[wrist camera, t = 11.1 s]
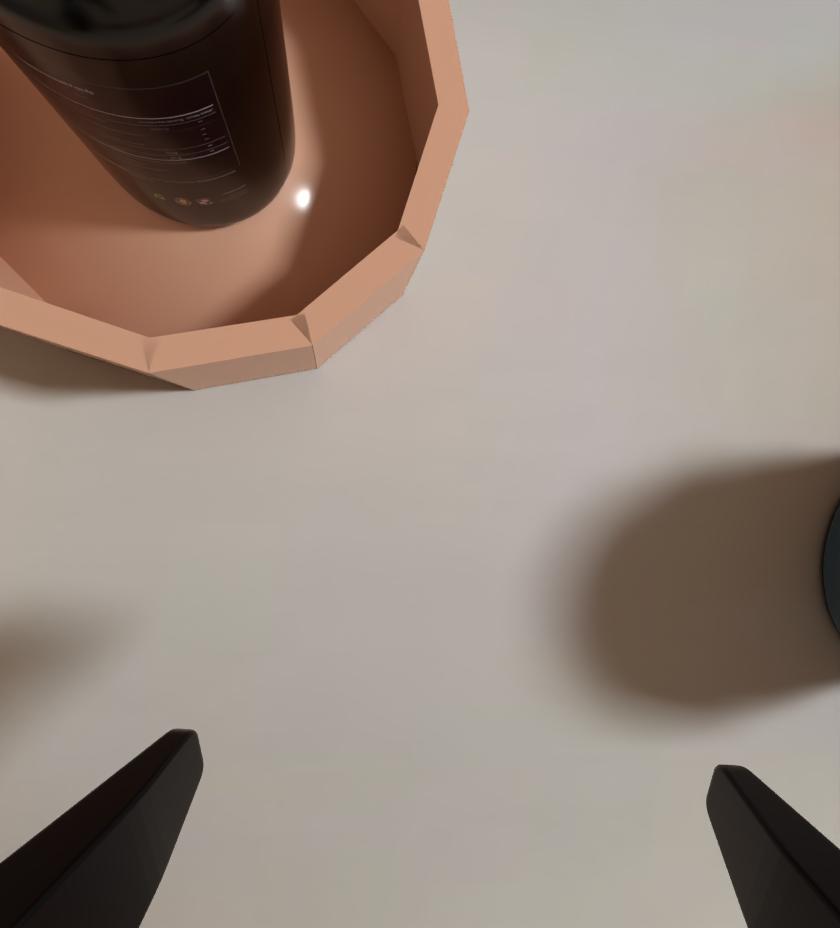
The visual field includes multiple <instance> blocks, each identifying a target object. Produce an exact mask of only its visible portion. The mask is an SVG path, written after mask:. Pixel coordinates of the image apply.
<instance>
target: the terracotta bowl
mask: <svg viewBox="0 0 840 928" xmlns="http://www.w3.org/2000/svg"><path fill="white" fill-rule="evenodd" d="M280 7H281V15H282V23H283V31H284V39H285V47H286V55H287V63H288V71H289V79H290V87H291V95H292V103H293V112H294V122H295V139H296V141H295V155H294V160H293V164H292V168H291V171H290V173H289V176H288V178H287V181H286V182H285V184H284V186H283V188H282V189H281V191H280V192H279V194H278V195H277V196H276V197H275V199H274V200H273V201H272V202H271V203H270V204H269V205H268V206H267V207H265V208H264V209H263V210H261V211H260V212H259V213H257V214H255V215H254V216H252V217H250V218H248V219H246V220H243V221H240V222H237V223H234V224H230V225H225V226H217V227H203V226H194V225H188V224H184V223H180V222H176V221H174V220H171V219H168V218H166V217H164V216H162V215H159V214H157V213H155V212H154V211H152V210H150V209H148V208H147V207H145V206H144V205H142V204H141V203H139V202H138V201H137V200H136V199H134V198H133V197H132V196H131V195H130V194H129V193H128V192H126V191H125V190H124V189H123V188H122V187H121V186H120V185H119V184H118V183H117V181H116V180H115V179H114V178H113V177H112V176H111V175H110V174H109V172H108V171H107V170H106V169H105V168H104V167H103V166H102V165H101V163H100V162H99V161H98V160H97V159H96V158H95V156H94V155H93V154H92V153H91V152H90V151H89V149H88V148H87V147H86V146H85V145H84V144H83V142H82V141H81V140H80V139H79V138H78V137H77V135H76V134H75V133H74V132H73V131H72V130H71V128H70V127H69V126H68V125H67V124H66V123H65V121H64V120H63V119H62V118H61V117H60V116H59V114H58V113H57V112H56V111H55V110H54V108H53V107H52V106H51V105H50V104H49V103H48V101H47V100H46V99H45V98H44V97H43V96H42V94H41V93H40V92H39V91H38V90H37V89H36V87H35V86H34V85H33V84H32V83H31V82H30V80H29V79H28V78H27V77H26V76H25V75H24V73H23V72H22V71H21V70H20V69H19V68H18V66H17V65H16V64H15V63H14V62H13V61H12V59H11V58H10V57H9V56H8V55H7V54H6V52H5V51H4V50H3V49H2V48H1V47H0V326H1V327H4V328H7V329H10V330H13V331H16V332H18V333H21V334H24V335H27V336H30V337H33V338H35V339H38V340H41V341H44V342H47V343H50V344H53V345H55V346H58V347H61V348H64V349H67V350H70V351H73V352H77V353H80V354H83V355H86V356H89V357H92V358H95V359H98V360H101V361H104V362H108V363H111V364H114V365H117V366H120V367H123V368H126V369H129V370H132V371H135V372H139V373H142V374H145V375H148V376H151V377H154V378H157V379H160V380H163V381H166V382H169V383H173V384H176V385H179V386H182V387H185V388H188V389H191V390H200V389H205V388H211V387H216V386H222V385H228V384H233V383H239V382H245V381H250V380H256V379H261V378H267V377H273V376H278V375H284V374H290V373H295V372H301V371H307V370H312V369H317V368H318V367H319V366H321V365H322V364H323V363H324V362H325V361H326V360H328V359H329V358H330V357H331V356H332V355H333V354H335V353H336V352H337V351H338V350H339V349H340V348H342V347H343V346H344V345H345V344H346V343H347V342H348V341H350V340H351V339H352V338H353V337H354V336H355V335H357V334H358V333H359V332H360V331H361V330H362V329H364V328H365V327H366V326H367V325H368V324H369V323H371V322H372V321H373V320H374V319H375V318H376V317H377V316H379V315H380V314H381V313H382V312H383V311H384V310H386V309H387V308H388V307H389V306H390V305H391V304H393V303H394V302H395V301H396V300H397V299H398V298H400V297H401V296H402V295H403V293H404V291H405V289H406V287H407V285H408V283H409V281H410V279H411V277H412V275H413V273H414V271H415V269H416V266H417V264H418V262H419V260H420V258H421V256H422V254H423V252H424V250H425V247H426V244H427V241H428V238H429V234H430V231H431V228H432V225H433V222H434V219H435V216H436V213H437V210H438V206H439V203H440V200H441V197H442V194H443V191H444V188H445V185H446V182H447V178H448V175H449V172H450V169H451V166H452V163H453V160H454V157H455V154H456V150H457V147H458V144H459V141H460V138H461V135H462V132H463V129H464V126H465V122H466V119H467V116H468V113H469V108H468V102H467V97H466V91H465V86H464V81H463V75H462V70H461V64H460V59H459V54H458V48H457V43H456V38H455V32H454V27H453V21H452V16H451V11H450V5H449V0H280Z"/></svg>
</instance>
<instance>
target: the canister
mask: <svg viewBox="0 0 840 928" xmlns="http://www.w3.org/2000/svg"><path fill="white" fill-rule="evenodd" d="M823 578H824V589H825V596H826V600H827V604H828V607H829V611H830V614H831V616H832V619H833V621H834V623H835V625H836V628H837V629H838V631H839V633H840V505H839V507H838V509H837V511H836V513H835V516H834V518H833V521H832V523H831V526H830V529H829V533H828V537H827V541H826V546H825V552H824V562H823Z"/></svg>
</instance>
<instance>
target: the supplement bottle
mask: <svg viewBox="0 0 840 928" xmlns="http://www.w3.org/2000/svg"><path fill="white" fill-rule="evenodd" d="M0 47H1V48H2V49H3V50H4V51H5V52H6V54H7V55H8V56H9V57H10V58H11V59H12V61H13V62H14V63H15V64H16V65H17V66H18V68H19V69H20V70H21V71H22V72H23V73H24V75H25V76H26V77H27V78H28V79H29V80H30V82H31V83H32V84H33V85H34V86H35V87H36V89H37V90H38V91H39V92H40V93H41V94H42V96H43V97H44V98H45V99H46V100H47V101H48V103H49V104H50V105H51V106H52V107H53V108H54V110H55V111H56V112H57V113H58V114H59V116H60V117H61V118H62V119H63V120H64V121H65V123H66V124H67V125H68V126H69V127H70V128H71V130H72V131H73V132H74V133H75V134H76V135H77V137H78V138H79V139H80V140H81V141H82V142H83V144H84V145H85V146H86V147H87V148H88V149H89V151H90V152H91V153H92V154H93V155H94V156H95V158H96V159H97V160H98V161H99V162H100V163H101V165H102V166H103V167H104V168H105V169H106V170H107V171H108V172H109V174H110V175H111V176H112V177H113V178H114V179H115V180H116V181H117V183H118V184H119V185H120V186H121V187H122V188H123V189H124V190H125V191H126V192H128V193H129V194H130V195H131V196H132V197H133V198H134V199H136V200H137V201H138V202H139V203H141V204H142V205H144V206H145V207H147V208H148V209H150V210H152V211H154V212H155V213H157V214H159V215H162V216H164V217H166V218H168V219H171V220H174V221H176V222H180V223H184V224H188V225H194V226H203V227H217V226H225V225H230V224H234V223H237V222H240V221H243V220H246V219H248V218H250V217H252V216H254V215H255V214H257V213H259V212H260V211H261V210H263V209H264V208H265V207H267V206H268V205H269V204H270V203H271V202H272V201H273V200H274V199H275V197H276V196H277V195H278V194H279V192H280V191H281V189H282V188H283V186H284V184H285V182H286V181H287V178H288V176H289V173H290V171H291V168H292V164H293V160H294V155H295V141H296V139H295V122H294V112H293V103H292V95H291V87H290V79H289V71H288V63H287V55H286V47H285V39H284V31H283V23H282V15H281V7H280V0H0Z"/></svg>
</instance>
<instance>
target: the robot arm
mask: <svg viewBox="0 0 840 928" xmlns="http://www.w3.org/2000/svg"><path fill="white" fill-rule="evenodd" d="M202 772H203V758H202V753H201V748H200V744H199V739H198V735H197V733H196V732H195V731H194V730H190V729H173V730H171V731H169V732H167V733H166V734H165V735H163V736H162V737H161V738H159V739H158V740H157V741H156V742H154V743H153V744H152V745H151V746H149V747H148V748H147V749H145V750H144V751H143V752H142V753H140V754H139V755H138V756H137V757H135V758H134V759H133V760H131V761H130V762H129V763H128V764H126V765H125V766H124V767H122V768H121V769H120V770H119V771H117V772H116V773H115V774H114V775H112V776H111V777H110V778H108V779H107V780H106V781H105V782H103V783H102V784H101V785H99V786H98V787H97V788H96V789H94V790H93V791H92V792H91V793H89V794H88V795H87V796H85V797H84V798H83V799H82V800H80V801H79V802H78V803H76V804H75V805H74V806H73V807H71V808H70V809H69V810H68V811H66V812H65V813H64V814H62V815H61V816H60V817H59V818H57V819H56V820H55V821H54V822H52V823H51V824H50V825H48V826H47V827H46V828H45V829H43V830H42V831H41V832H39V833H38V834H37V835H36V836H34V837H33V838H32V839H31V840H29V841H28V842H27V843H25V844H24V845H23V846H22V847H20V848H19V849H18V850H16V851H15V852H14V853H13V854H11V855H10V856H9V857H8V858H6V859H5V860H4V861H2V862H1V863H0V928H139V926H140V924H141V922H142V920H143V918H144V916H145V914H146V912H147V910H148V907H149V905H150V903H151V901H152V899H153V897H154V895H155V893H156V890H157V888H158V886H159V884H160V882H161V879H162V877H163V874H164V872H165V870H166V867H167V865H168V862H169V860H170V857H171V854H172V852H173V849H174V847H175V844H176V841H177V839H178V836H179V834H180V831H181V828H182V826H183V823H184V821H185V818H186V815H187V813H188V810H189V808H190V805H191V802H192V800H193V797H194V795H195V792H196V789H197V787H198V784H199V782H200V779H201V776H202ZM706 806H707V811H708V815H709V818H710V821H711V824H712V827H713V830H714V833H715V835H716V838H717V841H718V844H719V847H720V850H721V853H722V856H723V858H724V861H725V864H726V867H727V870H728V873H729V876H730V879H731V881H732V884H733V887H734V890H735V893H736V896H737V899H738V901H739V904H740V907H741V910H742V913H743V916H744V918H745V921H746V924H747V926H748V928H840V849H839V848H838V847H836V846H835V845H834V844H833V843H832V842H831V841H830V840H828V839H827V838H826V837H825V836H824V835H823V834H822V833H820V832H819V831H818V830H817V829H816V828H815V827H814V826H812V825H811V824H810V823H809V822H808V821H807V820H806V819H804V818H803V817H802V816H801V815H800V814H799V813H798V812H796V811H795V810H794V809H793V808H792V807H791V806H790V805H788V804H787V803H786V802H785V801H784V800H783V799H782V798H780V797H779V796H778V795H777V794H776V793H775V792H774V791H772V790H771V789H770V788H769V787H768V786H767V785H766V784H764V783H763V782H762V781H761V780H760V779H759V778H758V777H756V776H755V775H754V774H753V773H752V772H751V771H749V770H748V769H746V768H745V767H742V766H737V765H718V766H717V767H715V769H714V772H713V776H712V780H711V783H710V787H709V790H708V794H707V798H706Z"/></svg>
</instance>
